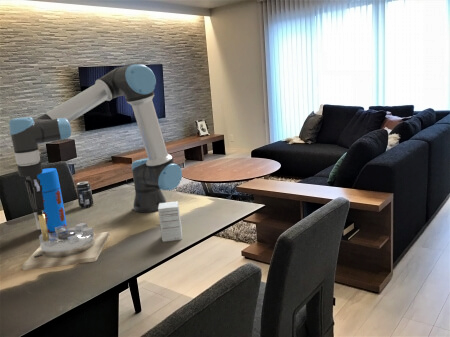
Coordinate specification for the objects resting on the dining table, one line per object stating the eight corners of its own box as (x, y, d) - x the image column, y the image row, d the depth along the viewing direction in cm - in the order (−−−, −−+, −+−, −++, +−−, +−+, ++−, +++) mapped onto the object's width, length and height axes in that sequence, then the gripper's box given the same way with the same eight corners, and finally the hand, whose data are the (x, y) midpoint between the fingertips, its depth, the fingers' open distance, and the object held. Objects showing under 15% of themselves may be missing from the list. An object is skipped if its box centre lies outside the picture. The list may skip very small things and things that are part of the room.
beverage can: (78, 205, 210) (74, 182, 208) (92, 203, 213) (88, 180, 211) (80, 209, 204) (76, 185, 202) (94, 206, 207) (90, 182, 204)
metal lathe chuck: (85, 233, 164) (79, 199, 161) (102, 245, 149) (95, 207, 146) (36, 247, 153) (29, 211, 150) (49, 262, 139) (41, 222, 136)
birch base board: (109, 235, 164) (108, 231, 164) (96, 261, 141) (95, 256, 140) (46, 242, 163) (46, 238, 162) (22, 270, 139) (21, 265, 139)
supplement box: (163, 234, 159) (158, 202, 156) (182, 232, 160) (178, 200, 157) (161, 242, 152) (157, 208, 149) (182, 239, 152) (178, 206, 150)
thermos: (57, 232, 174) (46, 173, 168) (34, 232, 176) (23, 174, 171) (71, 223, 184) (61, 167, 179) (50, 223, 186) (39, 168, 181)
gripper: (45, 163, 140) (58, 229, 146) (35, 158, 150) (47, 220, 156) (21, 168, 136) (35, 236, 141) (12, 163, 146) (26, 226, 151)
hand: (41, 228), depth 149 cm, fingers closed
